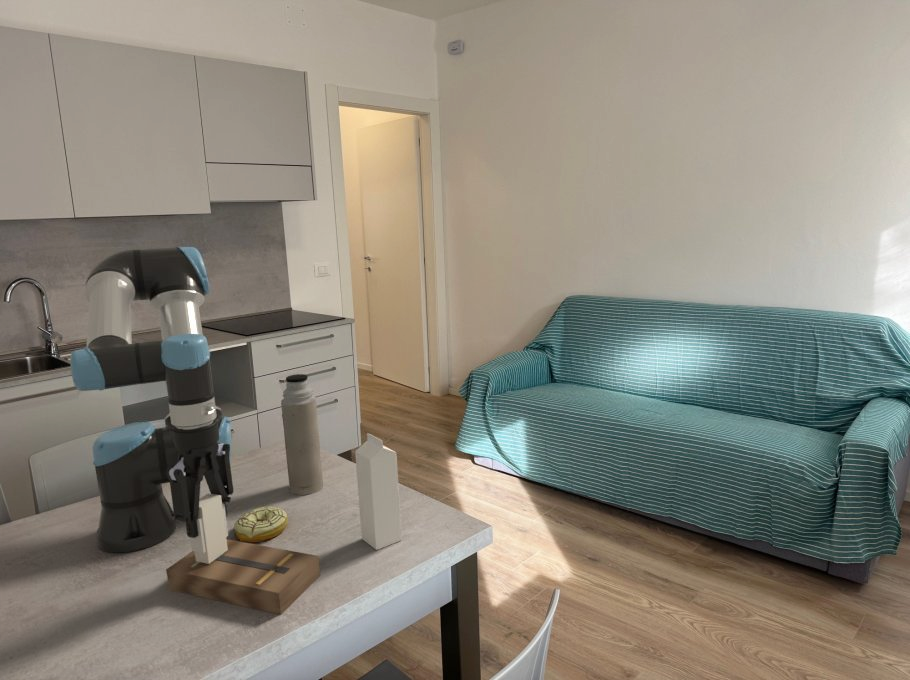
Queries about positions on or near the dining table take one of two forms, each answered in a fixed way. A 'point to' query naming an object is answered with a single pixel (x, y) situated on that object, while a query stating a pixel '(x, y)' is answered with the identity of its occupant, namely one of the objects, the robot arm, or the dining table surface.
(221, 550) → the fader tab
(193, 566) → the brown flat block
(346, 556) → the dining table surface
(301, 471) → the thermos bottle
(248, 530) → the decorated donut
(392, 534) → the milk
